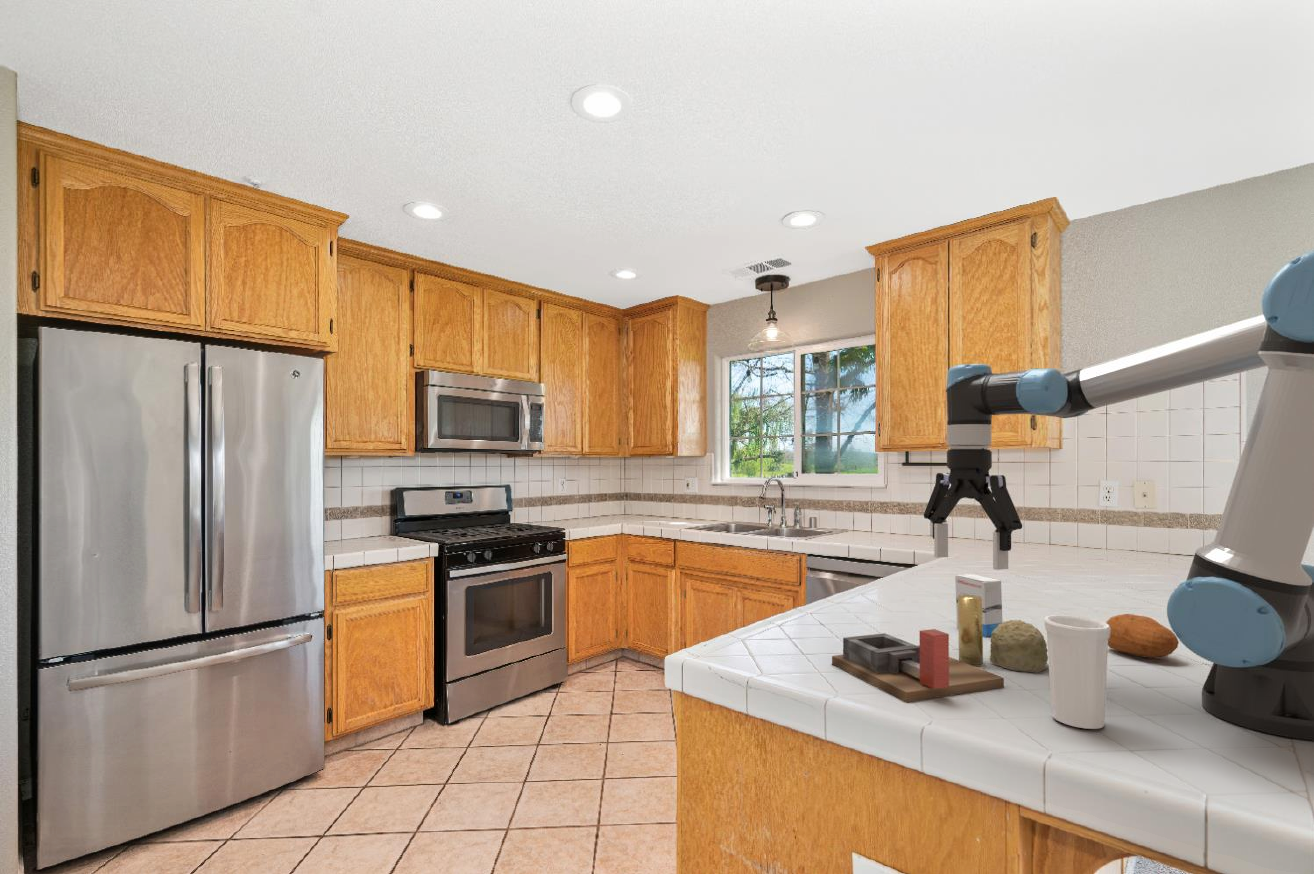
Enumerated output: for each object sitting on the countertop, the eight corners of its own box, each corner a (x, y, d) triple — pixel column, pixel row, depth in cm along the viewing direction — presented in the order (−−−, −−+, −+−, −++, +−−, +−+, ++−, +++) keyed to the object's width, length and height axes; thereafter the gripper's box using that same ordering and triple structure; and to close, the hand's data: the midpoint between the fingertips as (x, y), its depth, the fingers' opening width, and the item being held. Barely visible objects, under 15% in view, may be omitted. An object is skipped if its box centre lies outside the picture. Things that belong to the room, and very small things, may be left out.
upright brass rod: (988, 664, 116) (987, 598, 117) (971, 667, 115) (970, 600, 115) (970, 657, 120) (969, 593, 120) (953, 660, 118) (953, 595, 119)
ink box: (1004, 635, 135) (1003, 580, 136) (985, 637, 134) (984, 581, 134) (972, 625, 143) (972, 573, 144) (954, 627, 142) (954, 574, 142)
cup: (1031, 711, 95) (1030, 614, 95) (1083, 710, 95) (1082, 614, 96) (1070, 735, 87) (1069, 629, 87) (1127, 734, 87) (1125, 628, 88)
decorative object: (1040, 695, 111) (1072, 647, 111) (988, 659, 113) (1019, 612, 113) (1018, 681, 120) (1047, 637, 120) (970, 649, 122) (999, 606, 122)
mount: (1003, 686, 105) (1003, 656, 105) (906, 702, 98) (906, 669, 98) (919, 653, 123) (919, 627, 123) (832, 664, 116) (832, 636, 116)
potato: (1130, 646, 129) (1130, 608, 129) (1190, 663, 118) (1190, 622, 118) (1095, 649, 126) (1095, 611, 126) (1153, 667, 115) (1153, 625, 116)
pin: (949, 686, 100) (948, 633, 100) (933, 688, 99) (933, 635, 99) (903, 666, 109) (903, 618, 109) (889, 668, 108) (889, 619, 108)
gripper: (1045, 448, 108) (1046, 573, 107) (934, 448, 131) (934, 551, 131) (1012, 447, 105) (1013, 576, 105) (905, 448, 129) (905, 553, 128)
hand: (969, 562), depth 118 cm, fingers open, 13 cm apart
